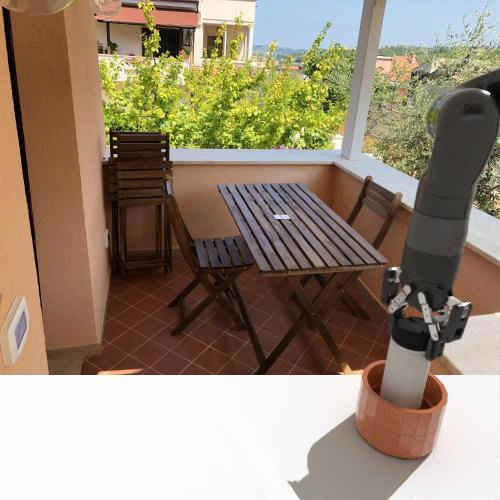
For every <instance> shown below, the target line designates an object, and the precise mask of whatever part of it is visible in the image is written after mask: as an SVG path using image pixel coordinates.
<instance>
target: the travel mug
mask: <svg viewBox="0 0 500 500" xmlns="http://www.w3.org/2000/svg"><path fill="white" fill-rule="evenodd" d="M430 337H431V334H430V330H429V326H428V324H426V323H425V320H424V317H420V316H412V315H409V316H404V317H402V318H396V319H395V320H394V325H393V330H392V334H391V335H390V339H389V344H388V350H387V355H386V359H385V360H386V365H385V370H384V375H383V380H382V385H381V391H380V396H379V397H381V398H382V399H384V400H386V401H387V402H389V403H391V404H393V405H396V406H399V407H402V408H405V409H412V410H420V406H421V401H422V397H423V393H424V389H425V385H426V380H427V376H428V372H430V368H431V363H432V361H428V360H427V359H425V354H426V350H427V346H428V341H429V338H430Z"/></svg>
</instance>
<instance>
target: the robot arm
mask: <svg viewBox="0 0 500 500" xmlns="http://www.w3.org/2000/svg"><path fill="white" fill-rule="evenodd" d="M425 126H426V129H427V132H428V134H429V135H430V137H432V138H433V139H434V141H433V146H432V149H431V154H430V158H429V161H428V165H427V166H426V167H425V168H424V169H423V170H422V171H421V174H420V176H419V179H418V183H417V186H416V187H417V188H416V191H415V192H416V193H415V198H414V203H413V208H412V212H411V215H410V218H409V221H408V224H407V229H406V234H405V240H404V245H403V250H402V251H403V252H402V254H401V255H402V256H401V260H400V266H399V265H398V266H397V265H396V266H391V267H387V268H385V269H384V270H383V274H382V275H383V277H382V284H381V295H380V302H381V304H382V305H383V306H384V305H386V306H387V309H388V312H389V316H388V320H387V330H388V331H387V333H388V334H389V335H390V336H391V334H392V330H393V325H394V320H395V319H396V318H402V317H406V312H404V311H405V310H406V309H407V308H408V307H411V308H415V309H416V310H417V311H418V312H419V313H421V314H422V316H423V318H424V320H425V323H426V324H428V326H429V330H430V334H431V337H430V338H429V341H428V346H427V350H426V354H425V359H427V360H428V361H431V362H433V361H435V360H437V359H440V358H442V356H443V354H444V350H445V347H446V344H451V343H453V342H455V341H459V340H461V339H462V338H463V336H464V332H465V330H466V327H467V325H468V321H469V319H470V316H471V313H472V310H473V304H472V302H470V301H469V300H468V301H467V300H466V301H462V300H460V299H458V298H457V297H455V295H454V291H453V287H454V285H455V283H456V281H457V278H458V276H459V271H460V268H461V264H462V259H463V255H464V251H465V247H466V242H467V238H468V235H469V224H470V217H471V213H472V209H473V205H474V200H475V196H476V193H477V185H478V182H479V180H480V179H481V177H482V175H483V173H484V171H485V169H486V167H487V164H488V162H489V160H490V158H491V157H492V156H491V155H492V153H493V152H494V150H495V149H494V148H495V147H496V145H497V141H498V138H499V135H500V67H499V68H496V69H494V70H491V71H488V72H485V73H483V74H481V75H479V76H476V77H474V78H471V79H469V80H466V81H464V82H462V83H460V84H458V85H455V86H453V87H451V88H449V89H447V90H445V91H444V92H442V93H440V94H439V95H438V96H437V97H436V98H435V99H434V100H433V101H432V102H431V104H430V105H429V107H428V109H427V112H426V115H425ZM400 288H401V290H400ZM399 291H400V292H399ZM447 305H448V308H447ZM436 312H437V315H434V314H433V313H436Z"/></svg>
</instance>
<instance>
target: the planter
mask: <svg viewBox="0 0 500 500" xmlns="http://www.w3.org/2000/svg"><path fill="white" fill-rule="evenodd" d="M385 365H386V359H379V360H376V361H373V362H370V363H369V364H368V365H367V366H366V367H364V369H363V371H362V374H361V378H360V379H361V380H360V384H359V390H358V396H357V403H356V407H355V414H354V420H355V427H356V429H357V430H358V432H359V434H360V436H361V437H362V438H363V439H364V440H365V441H366V442H367V443H368V444H369V445H370V446H372V447H374V448H375V449H376V450H378V451H379V452H381V453H384V454H386V455H389V456H392V457H395V458H402V459H408V460H409V459H410V460H411V459H419V458H422V457H424V456H427V455H429V454H431V453H432V451H433V450H434V449H435V447H436V446H437V442H438V438H439V435H440V432H441V427H442V424H443V420H444V417H445V412H446V408H447V405H448V399H449V393H448V391H447V389H446V386H445V385H444V383H443V381H441V380H440V379H439V378H438V377H437V376H436V375H435V374H433V373H432V372H430V371H429V372H428V376H427V380H426V385H425V389H424V393H423V397H422V401H421V406H420V410H412V409H405V408H402V407H399V406H396V405H393V404H391V403H389V402H387V401H386V400H384V399H382V398H381V397H379V396H380V391H381V385H382V380H383V375H384V370H385Z"/></svg>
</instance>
